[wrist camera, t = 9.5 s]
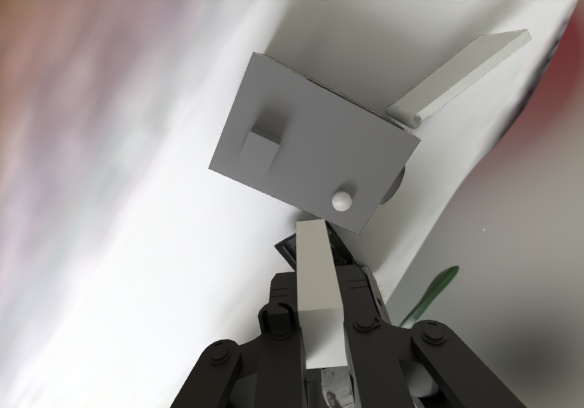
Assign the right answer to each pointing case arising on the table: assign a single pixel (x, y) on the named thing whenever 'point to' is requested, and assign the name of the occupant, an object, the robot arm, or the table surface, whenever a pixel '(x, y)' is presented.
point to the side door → (456, 76)
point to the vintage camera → (338, 377)
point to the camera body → (311, 146)
